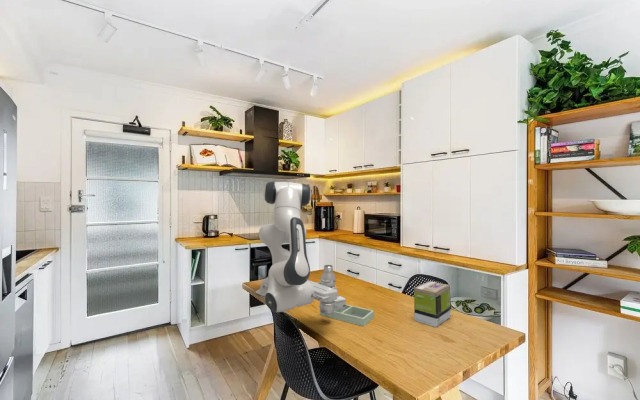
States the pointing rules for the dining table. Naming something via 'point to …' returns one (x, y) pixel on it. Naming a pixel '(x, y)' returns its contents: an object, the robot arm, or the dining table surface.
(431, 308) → the tea box
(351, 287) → the dining table surface
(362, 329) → the dining table surface
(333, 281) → the plastic bottle
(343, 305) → the skincare box
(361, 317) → the tray
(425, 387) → the dining table surface
